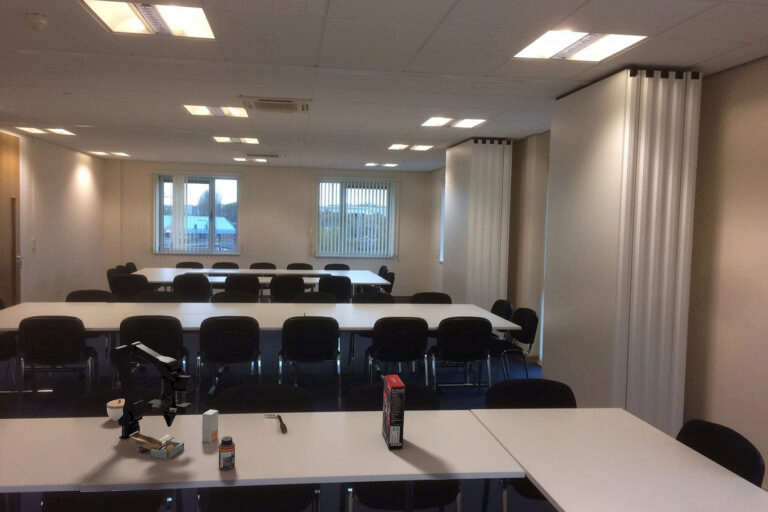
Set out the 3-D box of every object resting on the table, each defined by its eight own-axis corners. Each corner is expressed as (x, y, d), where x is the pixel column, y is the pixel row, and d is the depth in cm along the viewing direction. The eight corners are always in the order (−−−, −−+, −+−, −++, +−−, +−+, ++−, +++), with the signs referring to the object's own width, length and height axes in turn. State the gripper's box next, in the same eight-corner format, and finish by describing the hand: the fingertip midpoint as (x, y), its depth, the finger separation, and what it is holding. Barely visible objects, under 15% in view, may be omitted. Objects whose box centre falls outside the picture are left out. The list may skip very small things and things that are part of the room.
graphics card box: (381, 434, 231) (382, 374, 229) (396, 433, 232) (397, 374, 230) (388, 450, 214) (390, 386, 212) (404, 449, 215) (406, 385, 214)
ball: (172, 453, 203) (166, 455, 204) (177, 449, 206) (171, 452, 207) (169, 445, 203) (163, 448, 204) (174, 442, 206) (168, 444, 207)
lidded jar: (125, 423, 235) (125, 403, 235) (101, 422, 236) (101, 402, 235) (136, 414, 246) (136, 395, 246) (114, 414, 246) (114, 395, 246)
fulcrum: (138, 453, 205) (138, 447, 205) (148, 447, 211) (148, 441, 211) (141, 453, 205) (141, 447, 205) (151, 447, 211) (151, 441, 211)
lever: (128, 440, 207) (129, 435, 206) (149, 428, 219) (150, 423, 219) (153, 451, 204) (154, 445, 204) (173, 438, 217) (174, 433, 217)
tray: (150, 457, 202) (150, 450, 201) (166, 447, 211) (166, 440, 211) (168, 460, 200) (168, 452, 200) (184, 449, 210) (184, 442, 209)
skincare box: (211, 442, 217) (211, 414, 216) (201, 441, 218) (202, 413, 217) (218, 437, 223) (218, 410, 222) (209, 436, 224) (209, 409, 223)
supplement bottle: (220, 463, 198) (220, 434, 197) (236, 463, 199) (236, 434, 198) (216, 470, 192) (217, 441, 192) (233, 470, 193) (233, 441, 192)
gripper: (136, 393, 209) (136, 431, 210) (177, 398, 205) (177, 436, 205) (154, 385, 220) (154, 421, 220) (193, 389, 215) (193, 426, 216)
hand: (169, 426), depth 215 cm, fingers closed
